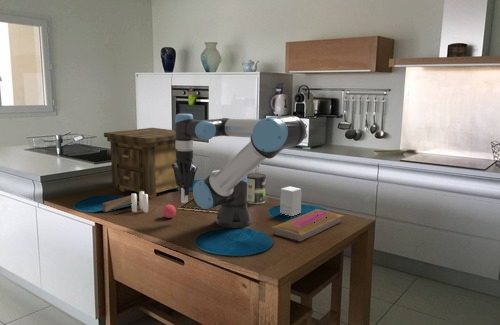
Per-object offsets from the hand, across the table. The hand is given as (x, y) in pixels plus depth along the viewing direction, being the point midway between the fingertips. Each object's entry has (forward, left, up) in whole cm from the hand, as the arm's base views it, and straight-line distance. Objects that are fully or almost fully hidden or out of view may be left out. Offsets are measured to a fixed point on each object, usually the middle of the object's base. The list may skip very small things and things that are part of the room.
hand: (184, 202), depth 192 cm
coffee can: (-9, -46, -9) cm, 48 cm away
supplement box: (-34, -37, -9) cm, 51 cm away
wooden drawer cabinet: (+52, -32, -9) cm, 62 cm away
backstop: (+40, +1, -9) cm, 41 cm away
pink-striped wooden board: (-49, -25, -10) cm, 56 cm away
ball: (+9, 0, -6) cm, 11 cm away
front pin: (+24, 0, -9) cm, 26 cm away
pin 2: (+29, -2, -9) cm, 31 cm away
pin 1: (+29, +3, -9) cm, 31 cm away
